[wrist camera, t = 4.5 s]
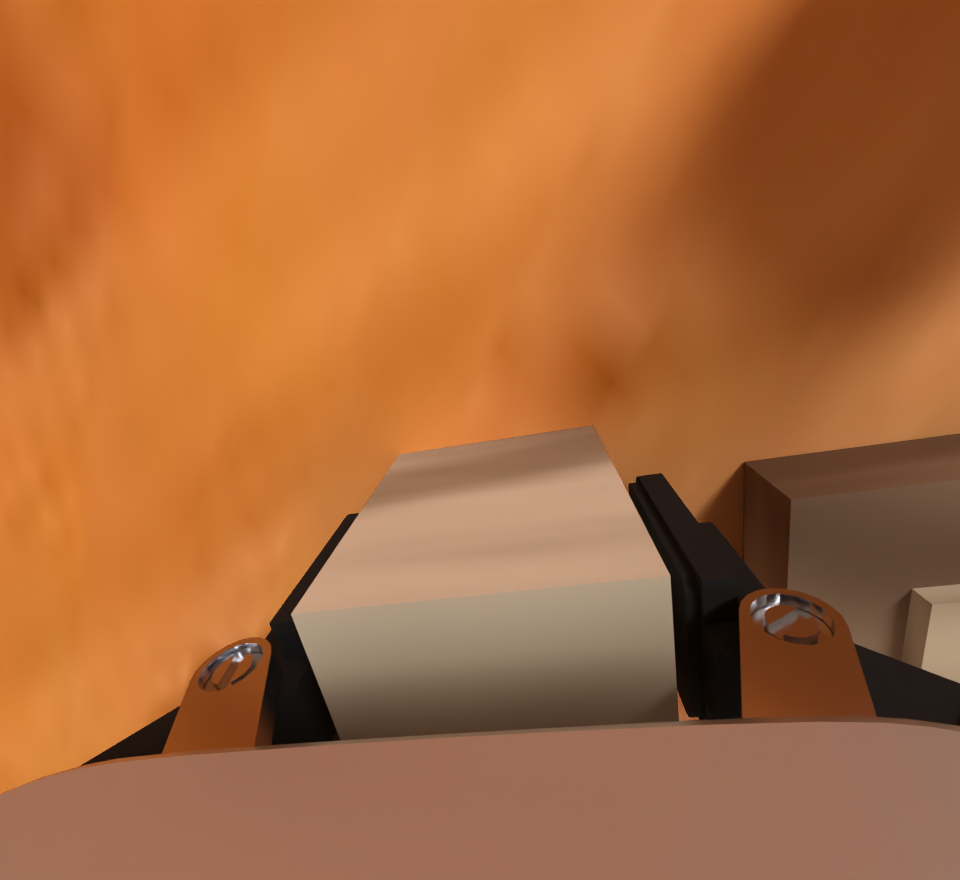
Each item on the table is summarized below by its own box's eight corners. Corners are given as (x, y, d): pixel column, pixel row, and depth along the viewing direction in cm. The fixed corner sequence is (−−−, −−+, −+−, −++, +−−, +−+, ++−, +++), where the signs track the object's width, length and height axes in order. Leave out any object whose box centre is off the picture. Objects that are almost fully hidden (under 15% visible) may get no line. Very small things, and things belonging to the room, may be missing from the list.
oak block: (399, 453, 12) (290, 614, 6) (592, 425, 11) (670, 575, 5) (440, 608, 13) (383, 847, 8) (611, 591, 13) (685, 840, 7)
